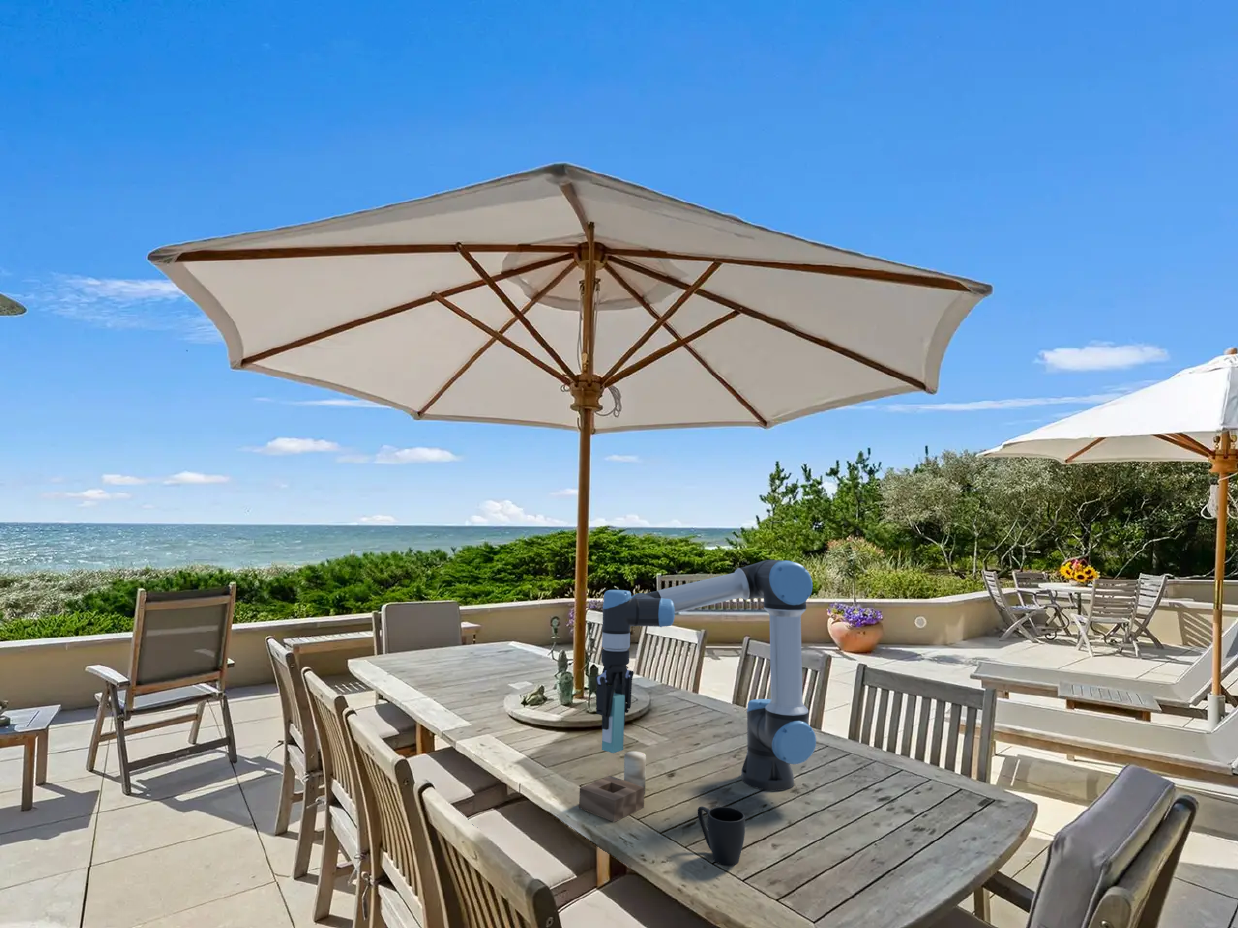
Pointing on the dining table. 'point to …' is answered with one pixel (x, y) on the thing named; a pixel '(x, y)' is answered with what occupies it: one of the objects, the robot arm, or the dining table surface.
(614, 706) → the square bit
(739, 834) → the mug
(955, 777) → the dining table surface
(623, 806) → the socket block
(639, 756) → the round dowel
